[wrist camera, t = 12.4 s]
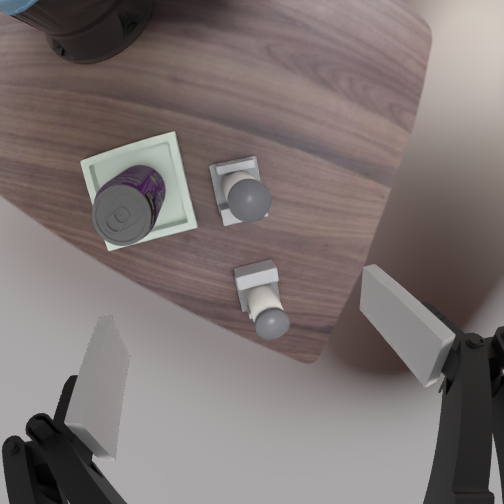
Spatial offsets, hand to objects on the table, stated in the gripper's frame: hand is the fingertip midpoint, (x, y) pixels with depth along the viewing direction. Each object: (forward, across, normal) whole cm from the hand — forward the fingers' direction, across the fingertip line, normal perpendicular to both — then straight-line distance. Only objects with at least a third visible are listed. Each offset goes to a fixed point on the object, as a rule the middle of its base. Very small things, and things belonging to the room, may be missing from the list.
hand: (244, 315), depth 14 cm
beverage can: (+28, -9, +3) cm, 29 cm away
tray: (+28, -9, +3) cm, 30 cm away
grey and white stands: (+28, +4, -8) cm, 30 cm away
